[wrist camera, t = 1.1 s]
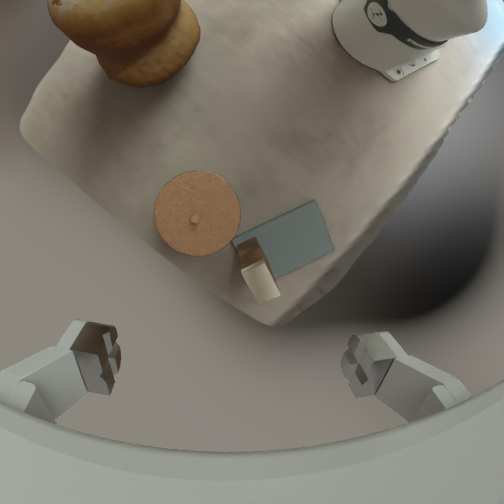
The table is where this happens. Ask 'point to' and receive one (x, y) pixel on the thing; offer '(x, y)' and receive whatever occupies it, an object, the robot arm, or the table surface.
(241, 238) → the slate mat
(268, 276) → the brown and white block
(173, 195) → the lidded jar
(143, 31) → the butternut squash
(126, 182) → the table surface
